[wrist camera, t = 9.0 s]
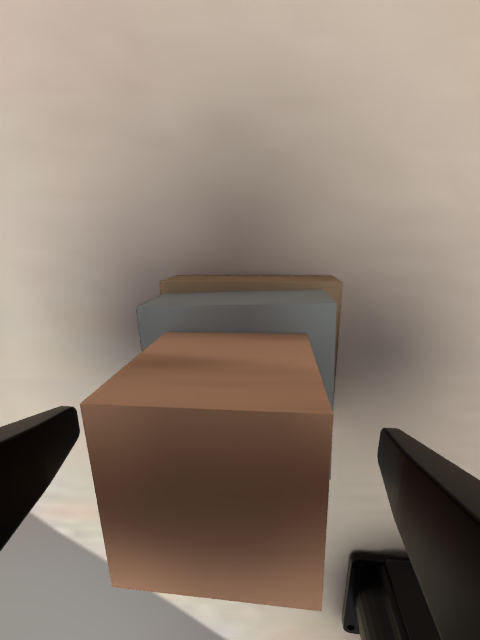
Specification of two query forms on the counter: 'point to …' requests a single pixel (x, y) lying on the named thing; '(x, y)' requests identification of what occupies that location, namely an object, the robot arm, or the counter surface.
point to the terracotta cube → (215, 468)
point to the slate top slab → (248, 319)
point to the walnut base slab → (256, 287)
